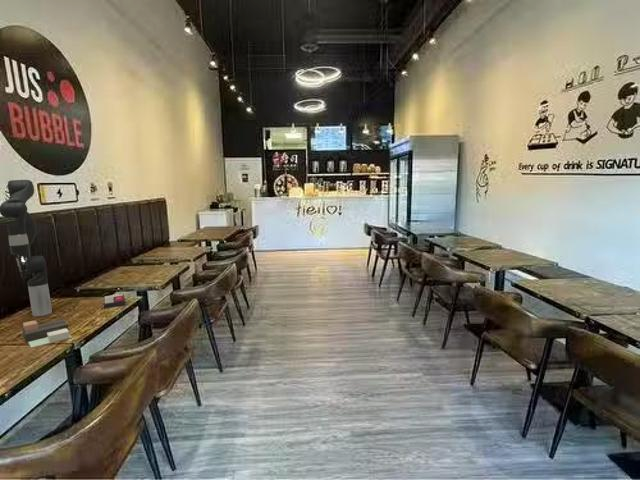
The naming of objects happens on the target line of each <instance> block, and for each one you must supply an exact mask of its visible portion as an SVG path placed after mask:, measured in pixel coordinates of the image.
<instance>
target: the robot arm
mask: <svg viewBox="0 0 640 480" xmlns="http://www.w3.org/2000/svg"><path fill="white" fill-rule="evenodd" d="M7 190H8V194H9V197H8V199H6V200H5V201H3V202H2V203H1V204H0V215H1V216H2V217H4V218H8V219H9V218H14V221H13V222H9V223H7V226H6V227H7V234H8V244H9V250H10V254H11V255H17V257H15V260H16V263H17V267H18V269H19V272H20V276H21V279H22V280H25V279H28V275H32V274H36V275H35V276H34V277H32V278H30V279H28V280H27V289H28V295H29V303H30V307H31V314H32V317H34V318H35V317H37V318H38V317H43V316H48V315H50V314H52V313H53V310H52V302H51V295H50V289H49V283H48V270H47V269H48V268H47V262H46V259H45V256H43V255H34V256H33V255H32V256H30V255H29V254H30V251H31V250H30V249H31V246H32V243H33V242H34V241H35V239H36V236H37V234H38V228H37V223H36V218H35V217H33V216H32V215H31V214H30V213H29V212H28V206H27V202H28V201H29V200H30V199H31V198H32V197H33V196H34V194H35V186H34V183H33V181H32V180H30V179H13V180H11V179H10V180H9V181H8V182H7Z"/></svg>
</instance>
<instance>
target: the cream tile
mask: <svg viewBox="0 0 640 480" xmlns="http://www.w3.org/2000/svg"><path fill="white" fill-rule="evenodd" d="M68 329H69V328H68ZM68 329H67V328H65V329H61V330H57V331H53V332H49V333H47V337H48V340H49V342H54V341H58V340H62V339H65V340H67V339H66V338H69V339H71V338H70V335H71V334H70V333H71V332H70V331H68ZM62 341H63V340H62ZM58 342H59V341H58ZM54 343H55V342H54Z"/></svg>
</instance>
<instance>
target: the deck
mask: <svg viewBox="0 0 640 480" xmlns="http://www.w3.org/2000/svg"><path fill="white" fill-rule="evenodd" d="M65 328H67V329H68V331H69V330H70V329H69V324H68V323H67V322H66V320H65V319H64V318H60V319H56V320H52V321H48V322H43V323H38V329H37V330H32V331H28V332H25V330H24V327H22V328H21V329H22V337H23V338H24V340H25V342H26V343H27V342H30V341H34V340H38V339H42V338H46V337H47V333H49V332H53V331H57V330H61V329H65ZM69 332H70V331H69Z"/></svg>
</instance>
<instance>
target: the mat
mask: <svg viewBox="0 0 640 480" xmlns="http://www.w3.org/2000/svg"><path fill="white" fill-rule="evenodd" d="M68 339H69V340H70V339H73V337H72V335H71V334H70V338H66V339H62V340H58V342H60V341H64V340H68ZM56 342H57V341H54V343H56ZM27 344H28V345H29V348H30V349H34V348H38V347H41V346H46V345H49V344H53V342H49V340H48V337H46V338H42V339H38V340H34V341H30V342H28V343H27ZM33 347H34V348H33Z"/></svg>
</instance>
